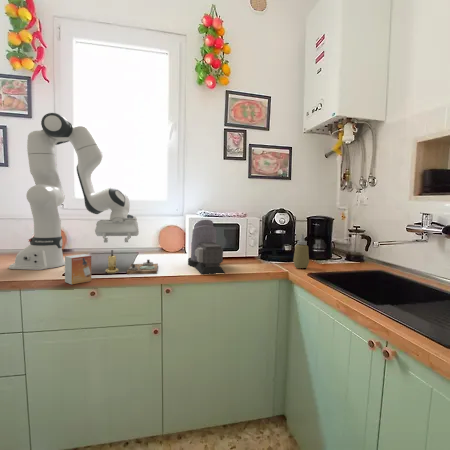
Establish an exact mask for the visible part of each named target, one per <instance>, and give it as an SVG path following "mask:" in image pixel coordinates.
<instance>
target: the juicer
mask: <svg viewBox="0 0 450 450" xmlns="http://www.w3.org/2000/svg"><path fill="white" fill-rule="evenodd" d="M191 235H192V236H191V243H190V246H191V247H190V249H191V250H190V257H188V259H187V265H188V266H189V267H192V268H194V269H196V270H197V271H198V273H199V274H200V275H217V274H216V273H224V274H226V272H225V270H223V268H222V267H221V263H223V262H224V261H223V260H224V259H223V258H224V248H222V245H220V244H218V243H217V228H216V227H215V226H214V221H213V220H211V219H201V220H199V221H197V222H196V223H195V224H194V228H193V229H192V234H191Z"/></svg>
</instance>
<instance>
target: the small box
mask: <svg viewBox="0 0 450 450" xmlns="http://www.w3.org/2000/svg"><path fill="white" fill-rule="evenodd" d="M64 261H65V265H64V282H65V283H67V284H69V285H75V284H81V283H88V282H91V281H92V255H91V254H86V253H81V254H73V255H65V256H64Z"/></svg>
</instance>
